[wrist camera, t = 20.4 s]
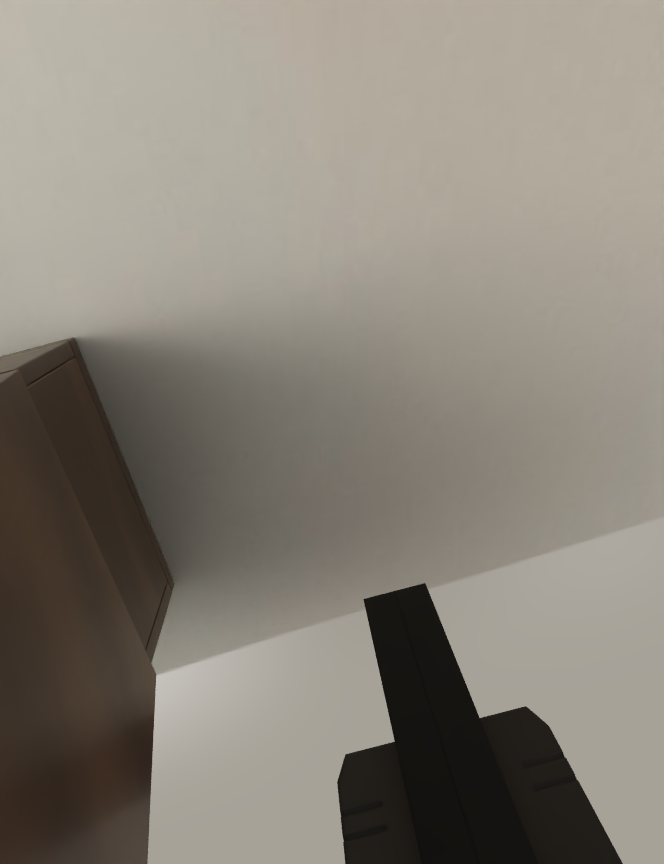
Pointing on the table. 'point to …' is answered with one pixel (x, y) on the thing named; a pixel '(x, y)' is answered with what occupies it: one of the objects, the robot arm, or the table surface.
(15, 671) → the chest lid
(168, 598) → the chest
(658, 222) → the table surface
